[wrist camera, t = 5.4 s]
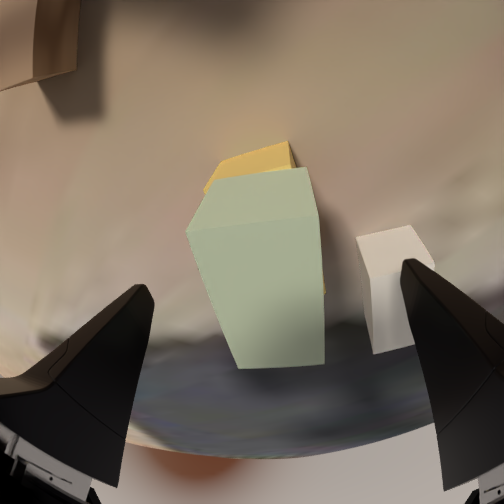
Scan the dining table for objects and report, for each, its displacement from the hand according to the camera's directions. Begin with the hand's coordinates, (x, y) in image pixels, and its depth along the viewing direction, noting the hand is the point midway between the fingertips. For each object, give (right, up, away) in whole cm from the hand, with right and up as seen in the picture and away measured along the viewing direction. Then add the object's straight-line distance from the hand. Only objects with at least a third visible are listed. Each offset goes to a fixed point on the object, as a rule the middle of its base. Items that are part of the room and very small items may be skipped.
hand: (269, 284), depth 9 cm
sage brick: (0, +1, +2) cm, 2 cm away
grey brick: (+7, 0, +6) cm, 10 cm away
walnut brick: (-11, +13, -1) cm, 17 cm away
